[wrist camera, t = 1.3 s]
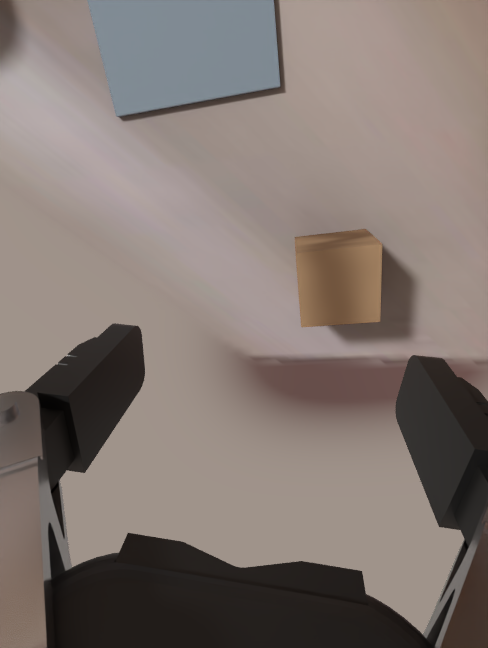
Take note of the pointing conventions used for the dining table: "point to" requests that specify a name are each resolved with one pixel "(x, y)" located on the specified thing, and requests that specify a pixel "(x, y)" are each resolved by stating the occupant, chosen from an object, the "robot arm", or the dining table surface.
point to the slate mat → (184, 50)
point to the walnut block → (339, 278)
